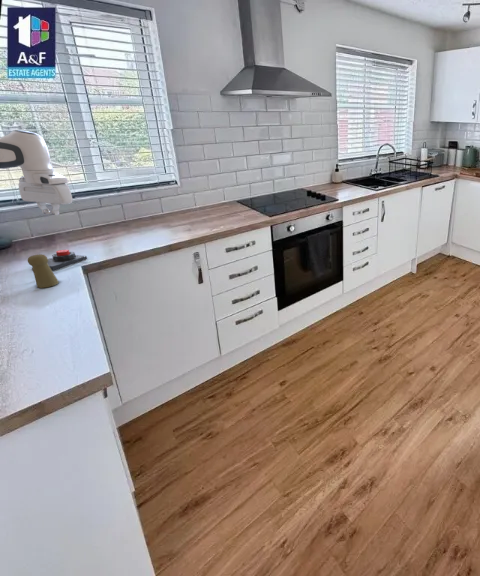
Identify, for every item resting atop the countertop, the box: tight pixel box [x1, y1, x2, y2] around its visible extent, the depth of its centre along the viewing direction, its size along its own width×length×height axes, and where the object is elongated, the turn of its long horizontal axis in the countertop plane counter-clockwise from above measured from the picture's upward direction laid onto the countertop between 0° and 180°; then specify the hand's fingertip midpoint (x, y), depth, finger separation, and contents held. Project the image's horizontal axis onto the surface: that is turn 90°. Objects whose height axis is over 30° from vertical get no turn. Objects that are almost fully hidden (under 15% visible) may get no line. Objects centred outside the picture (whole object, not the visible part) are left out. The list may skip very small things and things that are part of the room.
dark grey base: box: [47, 251, 88, 272], centre depth 148 cm, size 14×10×5 cm
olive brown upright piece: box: [27, 253, 60, 289], centre depth 130 cm, size 6×6×11 cm
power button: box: [55, 249, 71, 256], centre depth 149 cm, size 4×4×2 cm
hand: (51, 214), depth 143 cm, fingers open, 3 cm apart
